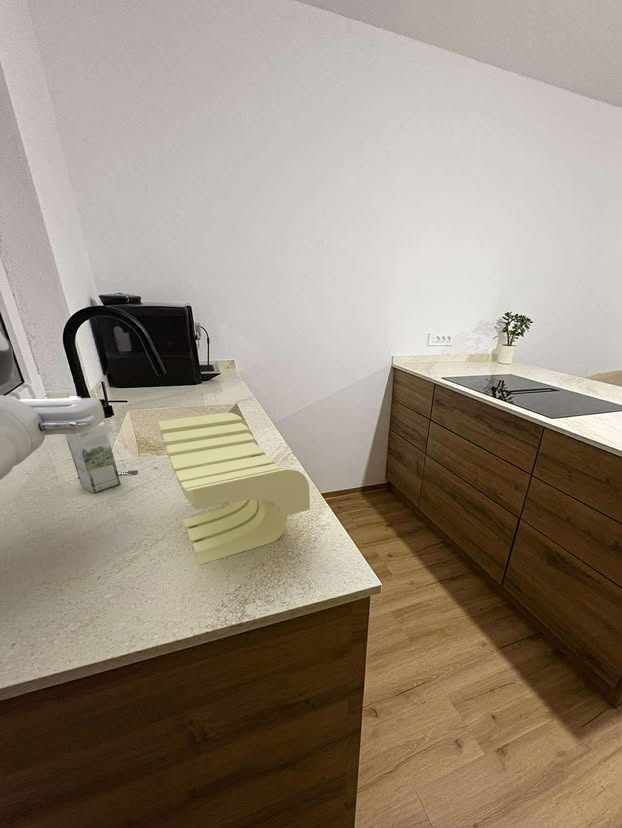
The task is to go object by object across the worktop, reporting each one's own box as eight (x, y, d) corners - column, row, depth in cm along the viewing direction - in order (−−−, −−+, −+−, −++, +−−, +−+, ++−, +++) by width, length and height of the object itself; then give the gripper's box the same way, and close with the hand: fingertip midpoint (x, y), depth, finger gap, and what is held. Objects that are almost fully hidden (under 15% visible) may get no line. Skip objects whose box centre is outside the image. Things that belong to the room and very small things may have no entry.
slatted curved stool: (311, 562, 64) (308, 465, 56) (211, 597, 56) (192, 490, 48) (252, 487, 86) (244, 410, 78) (175, 505, 78) (158, 421, 70)
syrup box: (108, 477, 88) (91, 416, 82) (122, 484, 85) (104, 421, 79) (81, 486, 84) (60, 422, 77) (94, 494, 81) (73, 429, 74)
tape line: (77, 478, 87) (77, 478, 87) (80, 474, 89) (80, 474, 89) (136, 474, 90) (136, 473, 90) (138, 470, 92) (138, 470, 92)
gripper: (82, 404, 54) (110, 381, 66) (-105, 410, 49) (-38, 384, 60) (94, 446, 57) (118, 417, 69) (-81, 456, 51) (-22, 422, 63)
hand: (44, 401), depth 64 cm, fingers open, 8 cm apart
